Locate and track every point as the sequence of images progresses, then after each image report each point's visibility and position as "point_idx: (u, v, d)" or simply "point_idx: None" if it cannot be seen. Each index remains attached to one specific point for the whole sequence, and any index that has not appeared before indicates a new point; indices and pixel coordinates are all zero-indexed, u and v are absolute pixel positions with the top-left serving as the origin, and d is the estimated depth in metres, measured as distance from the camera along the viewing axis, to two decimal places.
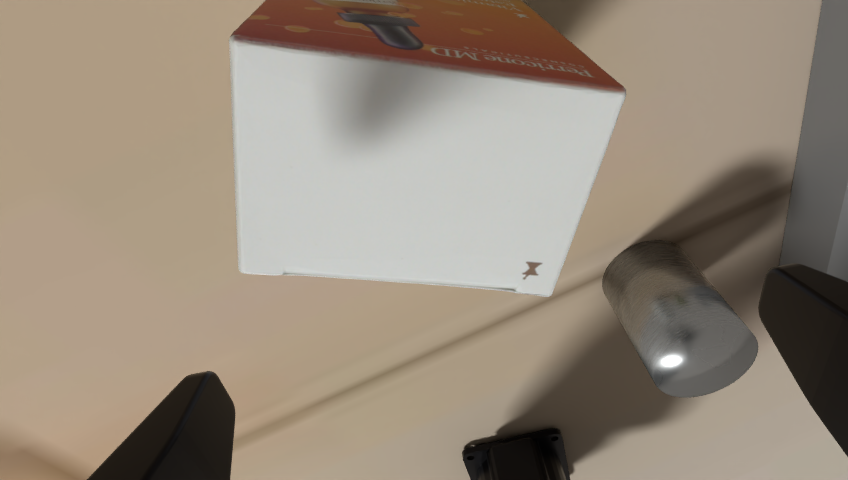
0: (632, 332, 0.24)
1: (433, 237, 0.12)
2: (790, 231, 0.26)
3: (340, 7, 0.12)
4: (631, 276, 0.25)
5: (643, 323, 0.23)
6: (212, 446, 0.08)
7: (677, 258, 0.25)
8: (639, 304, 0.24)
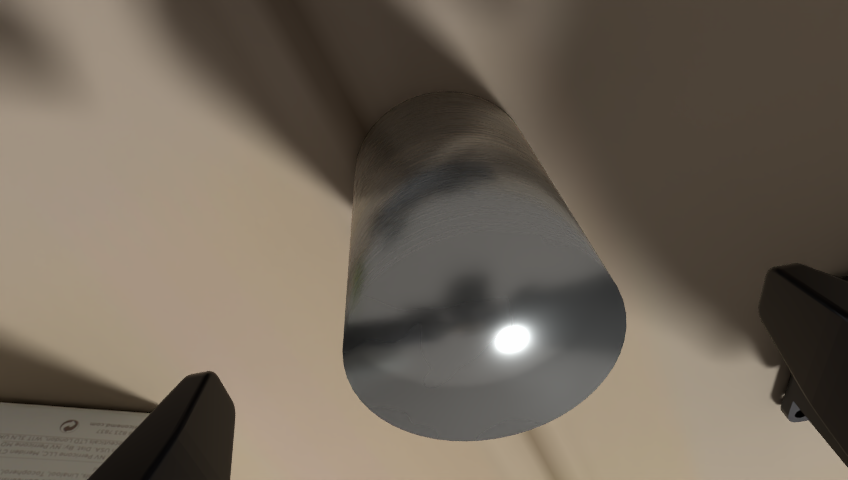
0: None
1: None
2: None
3: None
4: None
5: None
6: (212, 446, 0.08)
7: (354, 190, 0.11)
8: None
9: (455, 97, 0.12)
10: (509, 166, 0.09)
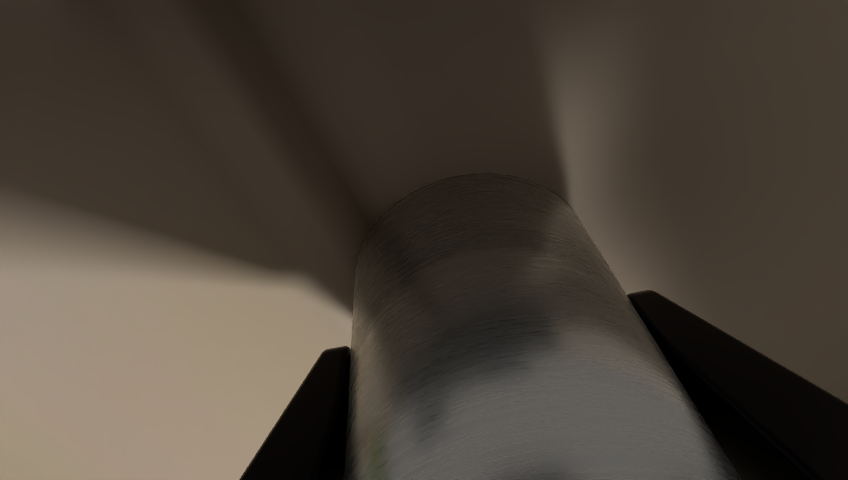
0: None
1: None
2: None
3: None
4: None
5: None
6: None
7: (354, 319, 0.08)
8: None
9: (497, 184, 0.08)
10: (604, 340, 0.06)
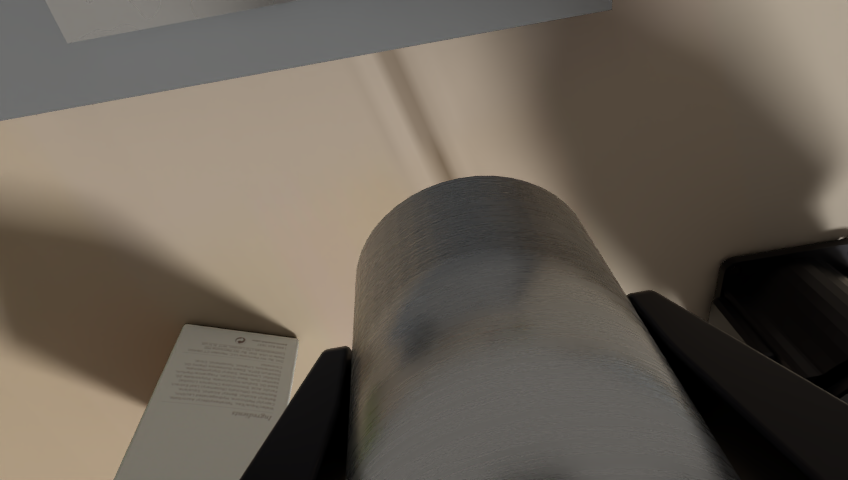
0: None
1: None
2: None
3: None
4: None
5: None
6: None
7: (355, 321, 0.08)
8: None
9: (498, 186, 0.08)
10: (604, 341, 0.06)
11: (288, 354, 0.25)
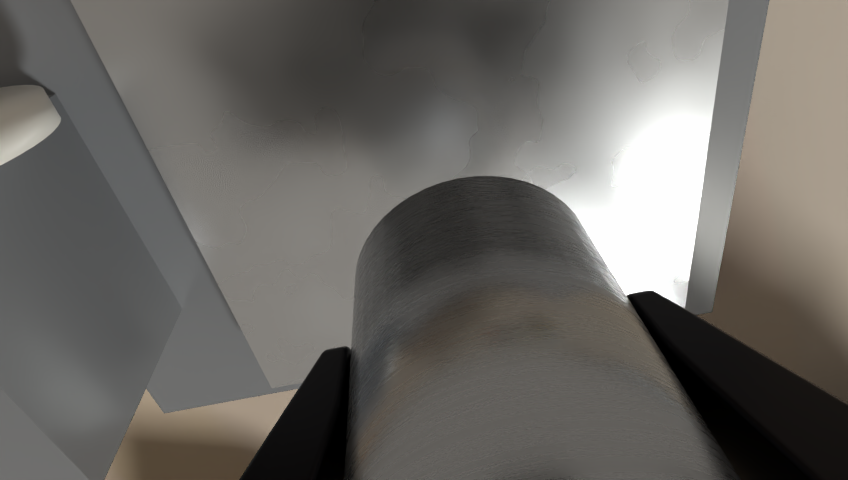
0: None
1: None
2: None
3: None
4: None
5: None
6: None
7: (354, 322, 0.08)
8: None
9: (497, 186, 0.08)
10: (605, 343, 0.06)
11: None
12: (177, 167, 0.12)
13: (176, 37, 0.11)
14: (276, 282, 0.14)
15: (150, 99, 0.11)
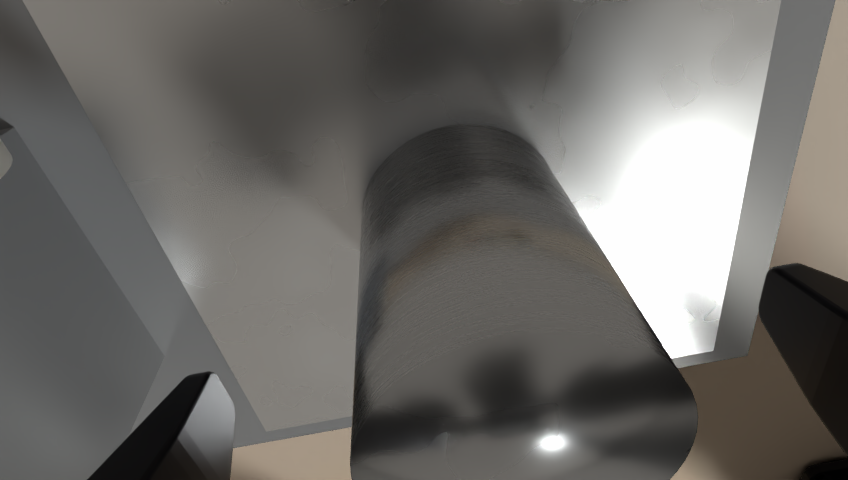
0: None
1: None
2: None
3: None
4: None
5: None
6: (212, 446, 0.08)
7: (361, 238, 0.10)
8: None
9: (478, 131, 0.10)
10: (551, 226, 0.07)
11: None
12: (159, 202, 0.11)
13: (155, 61, 0.09)
14: (270, 323, 0.13)
15: (127, 129, 0.10)
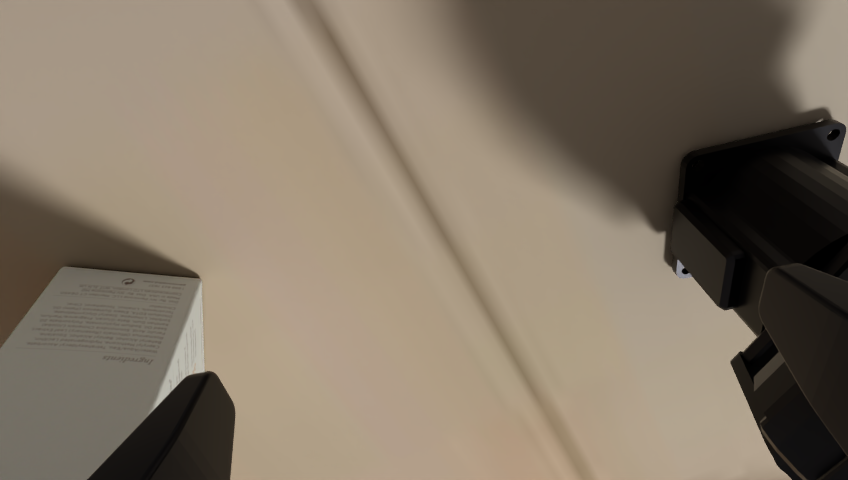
0: None
1: None
2: None
3: None
4: None
5: None
6: (212, 446, 0.08)
7: None
8: None
9: None
10: None
11: (186, 294, 0.21)
12: None
13: None
14: None
15: None
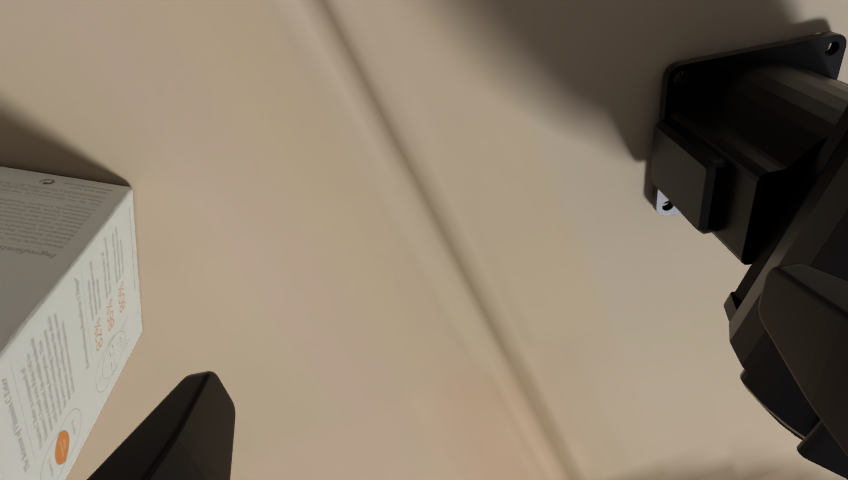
0: None
1: None
2: None
3: None
4: None
5: None
6: (212, 446, 0.08)
7: None
8: None
9: None
10: None
11: (110, 199, 0.19)
12: None
13: None
14: None
15: None
